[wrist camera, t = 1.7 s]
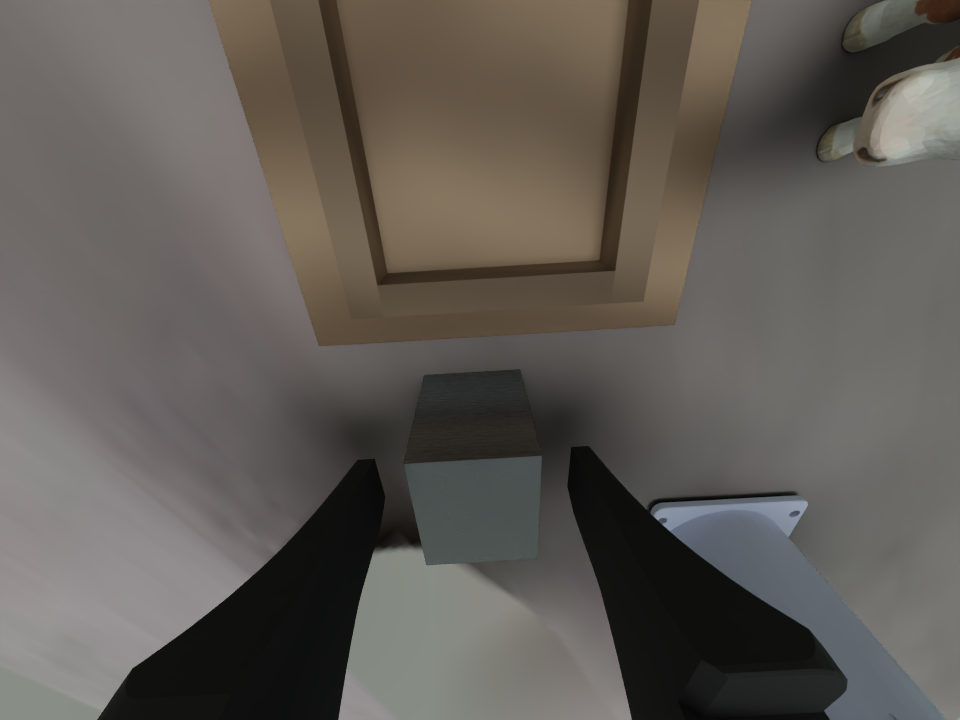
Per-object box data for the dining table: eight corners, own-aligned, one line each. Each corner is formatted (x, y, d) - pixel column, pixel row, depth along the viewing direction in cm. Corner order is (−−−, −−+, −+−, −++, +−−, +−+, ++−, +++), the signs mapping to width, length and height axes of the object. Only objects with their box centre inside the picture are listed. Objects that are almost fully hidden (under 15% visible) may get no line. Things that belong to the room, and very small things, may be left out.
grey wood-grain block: (519, 457, 16) (537, 558, 12) (438, 461, 17) (426, 564, 12) (519, 368, 14) (542, 455, 10) (424, 374, 14) (403, 464, 10)
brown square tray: (663, 316, 13) (696, 341, 11) (327, 337, 13) (302, 365, 11) (797, -294, 7) (928, -483, 5) (151, -246, 7) (25, -411, 5)
